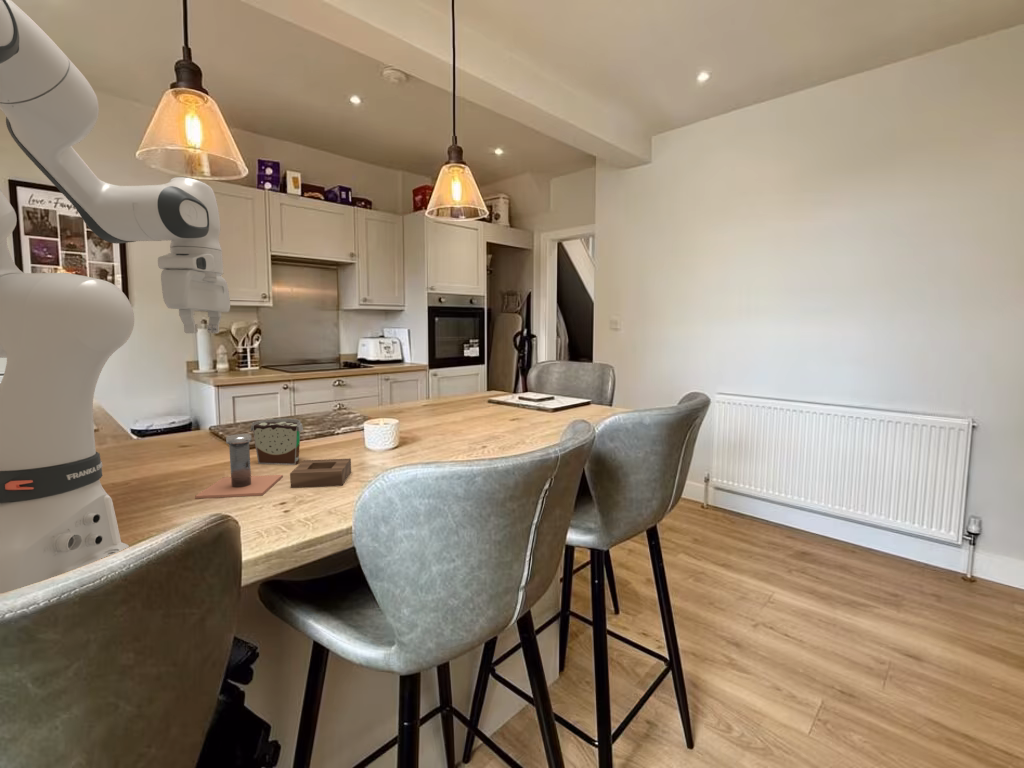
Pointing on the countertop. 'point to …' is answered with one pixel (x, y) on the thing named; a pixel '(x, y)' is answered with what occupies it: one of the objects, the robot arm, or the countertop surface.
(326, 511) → the countertop surface
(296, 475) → the brown square peg hole
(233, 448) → the metal peg
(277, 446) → the food container
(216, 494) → the rubber mat
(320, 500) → the countertop surface
